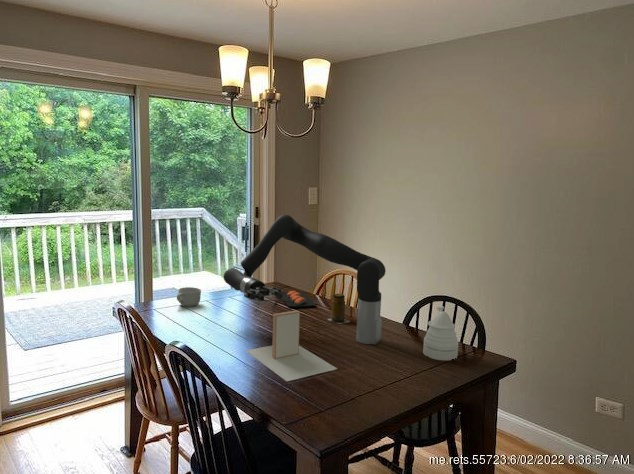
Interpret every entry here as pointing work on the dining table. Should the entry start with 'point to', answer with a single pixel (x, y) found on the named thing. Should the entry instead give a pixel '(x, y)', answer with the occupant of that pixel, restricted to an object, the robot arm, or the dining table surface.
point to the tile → (285, 334)
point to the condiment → (338, 309)
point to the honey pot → (441, 338)
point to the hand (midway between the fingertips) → (272, 297)
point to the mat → (292, 363)
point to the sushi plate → (295, 299)
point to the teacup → (189, 296)
